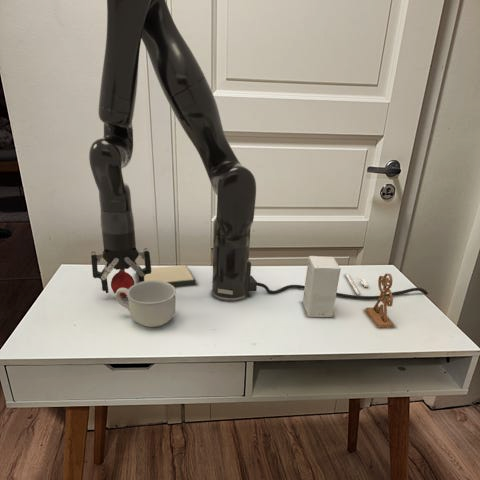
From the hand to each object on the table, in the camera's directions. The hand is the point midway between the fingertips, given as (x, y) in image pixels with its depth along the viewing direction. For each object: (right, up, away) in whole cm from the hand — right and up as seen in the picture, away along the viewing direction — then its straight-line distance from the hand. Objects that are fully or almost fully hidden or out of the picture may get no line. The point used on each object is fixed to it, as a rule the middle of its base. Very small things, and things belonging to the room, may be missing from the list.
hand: (124, 290), depth 109 cm
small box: (+49, -5, 0) cm, 49 cm away
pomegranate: (0, -2, +1) cm, 2 cm away
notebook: (+8, +4, +12) cm, 15 cm away
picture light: (+64, +2, +15) cm, 65 cm away
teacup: (+8, -8, -8) cm, 14 cm away
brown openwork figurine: (+64, -7, -3) cm, 64 cm away
